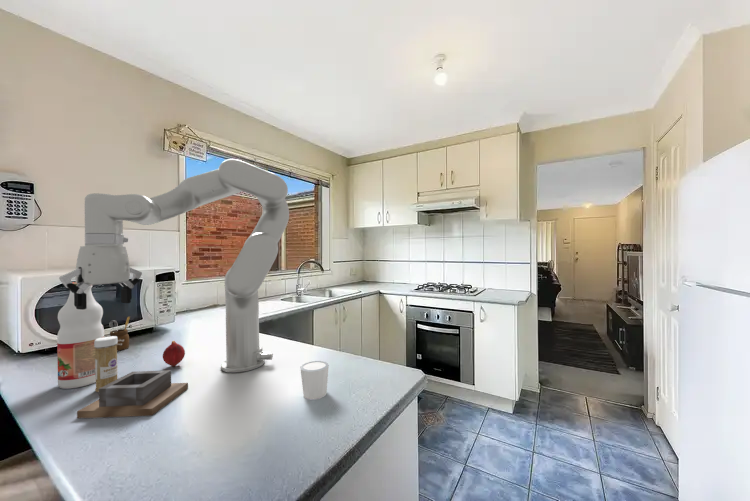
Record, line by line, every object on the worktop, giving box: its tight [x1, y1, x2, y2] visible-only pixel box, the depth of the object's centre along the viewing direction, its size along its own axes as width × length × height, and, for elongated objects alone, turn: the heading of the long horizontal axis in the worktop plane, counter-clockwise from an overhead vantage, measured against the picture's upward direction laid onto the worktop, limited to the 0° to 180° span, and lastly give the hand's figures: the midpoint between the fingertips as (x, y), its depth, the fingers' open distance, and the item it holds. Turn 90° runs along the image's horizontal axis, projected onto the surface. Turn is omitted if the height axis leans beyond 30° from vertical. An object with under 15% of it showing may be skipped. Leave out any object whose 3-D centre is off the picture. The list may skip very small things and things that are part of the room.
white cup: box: [300, 360, 330, 401], centre depth 74 cm, size 7×7×7 cm
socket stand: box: [76, 369, 189, 419], centre depth 72 cm, size 16×13×6 cm
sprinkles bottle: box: [94, 335, 119, 393], centre depth 79 cm, size 5×5×13 cm
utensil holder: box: [108, 316, 131, 352], centre depth 114 cm, size 6×6×12 cm
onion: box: [162, 340, 186, 367], centre depth 94 cm, size 6×6×8 cm
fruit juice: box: [56, 281, 105, 390], centre depth 84 cm, size 9×9×28 cm
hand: (104, 305), depth 79 cm, fingers open, 9 cm apart
